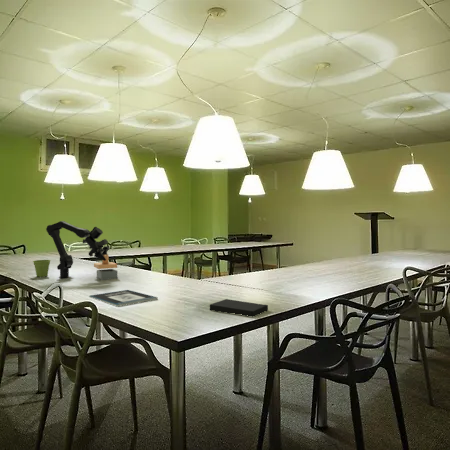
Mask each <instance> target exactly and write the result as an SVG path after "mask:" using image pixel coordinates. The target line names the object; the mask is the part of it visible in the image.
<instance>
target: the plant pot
mask: <svg viewBox="0 0 450 450" xmlns="http://www.w3.org/2000/svg"><path fill="white" fill-rule="evenodd" d="M51 261H52V260H50V259H36V260H32V263H33V265H34V270H35V275H36V277H39V278H42V277H47V276H48V274H49V269H50V268H49V267H50V263H51Z"/></svg>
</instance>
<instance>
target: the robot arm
mask: <svg viewBox="0 0 450 450" xmlns="http://www.w3.org/2000/svg"><path fill="white" fill-rule="evenodd" d="M62 229H65V230H67V231H70V232H72V233H73V234H75V236H77V237H79V238H81V239H82V244H87V245H88V246H89V247H88V248H89V249H90V251H89V252H88V256H89V257H94V258H97V259H100V260H104V261H105V260H106V259H105V257H104V256H103V255H108V261H109V260H110V258H109V254H108V252H109V250H110V249H111V248H110V246H108V242H109V241H108V240H107V239H106V238H103V239H101V240H100V241H97V239H99V238H100V236H101V235H102V234H104V232H103V230H102V229H100V228H99V227H97V226H94V227H93V228H92V230H89V229H87V228H82V227H77V226H75V225H73V224H71V223H68V222H67V221H64V220H60V221H58V222H55V223H52V224H48V225H47V226H46V228H45V231H46V232H47V234H48V235H49V236H50V237H51V239H52V240H53V244H54V245H55V248H56V251H57V252H58V255H59V264H58V265H57V266H56V267H57V268H56V269H57V270H58V271H59V276H58V278H59V279H68V278H69V276H70V274H69V270H70V269H71V268H72V266H73V263H74V259H73V256H72V255H71V254H68V253H67V250H66V248H65V246H64V243H63V241H62V238H61V236H60V233H61V230H62Z"/></svg>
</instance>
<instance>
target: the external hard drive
mask: <svg viewBox="0 0 450 450" xmlns="http://www.w3.org/2000/svg"><path fill="white" fill-rule="evenodd" d="M212 310H215V311H214V312H218V311H221V312H220V313H224V312H227V313H226V314H230V313H235V314H234V315H236V314H242V315H248V316H255V315H257V314H259V315H261V314H263V313H262V312H264V311H266V312H267V310H269V305H268V304H264V303H263V304H262V303H256V302H250V301H249V302H247V301H242V300H241V301H240V300H234V299H228V298H226V299H222V300H220V301H217V302H214V303H211V304H209V311H212ZM260 313H261V314H260ZM264 313H265V312H264ZM242 315H241V316H242ZM248 316H247V317H248ZM257 316H258V315H257ZM255 317H256V316H255Z"/></svg>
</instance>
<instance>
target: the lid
mask: <svg viewBox="0 0 450 450" xmlns="http://www.w3.org/2000/svg"><path fill="white" fill-rule="evenodd" d="M103 256H104V257H105V259H106V260H105V261H104V260H102V259H101V260H102V262H94V263H93V267H94V268H96V270H104V269H117V268H118V263H115V262H114V261H109V260H108V257H109V254H108V255H103Z"/></svg>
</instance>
